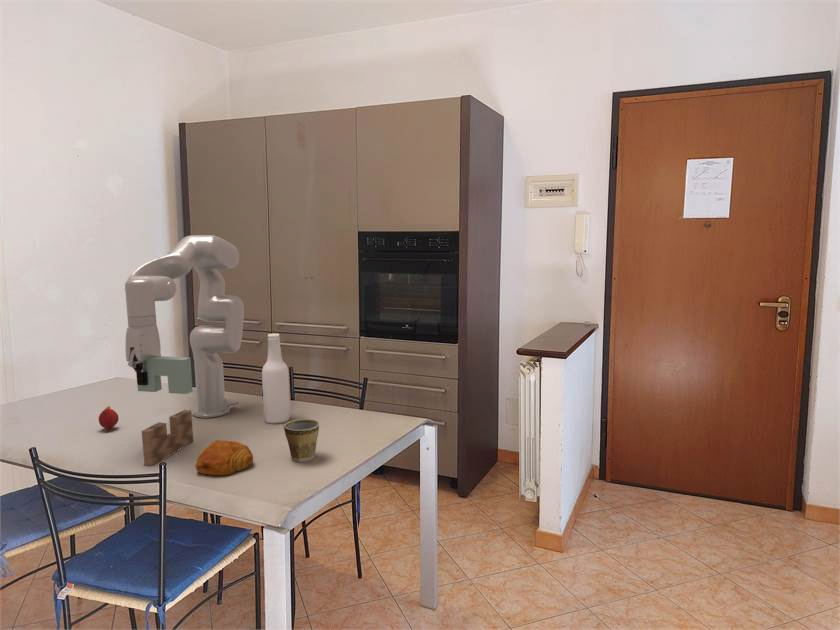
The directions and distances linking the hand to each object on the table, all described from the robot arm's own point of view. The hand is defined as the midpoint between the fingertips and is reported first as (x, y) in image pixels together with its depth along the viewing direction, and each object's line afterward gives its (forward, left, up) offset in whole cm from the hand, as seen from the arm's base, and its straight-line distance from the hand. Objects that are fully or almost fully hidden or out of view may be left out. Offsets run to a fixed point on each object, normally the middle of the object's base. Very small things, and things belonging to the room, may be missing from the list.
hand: (146, 382), depth 181 cm
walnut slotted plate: (-4, +4, -21) cm, 22 cm away
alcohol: (-41, -8, -21) cm, 47 cm away
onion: (+9, -29, -21) cm, 37 cm away
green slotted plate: (-4, +4, -2) cm, 6 cm away
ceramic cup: (-36, +28, -21) cm, 51 cm away
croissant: (-15, +24, -21) cm, 35 cm away
